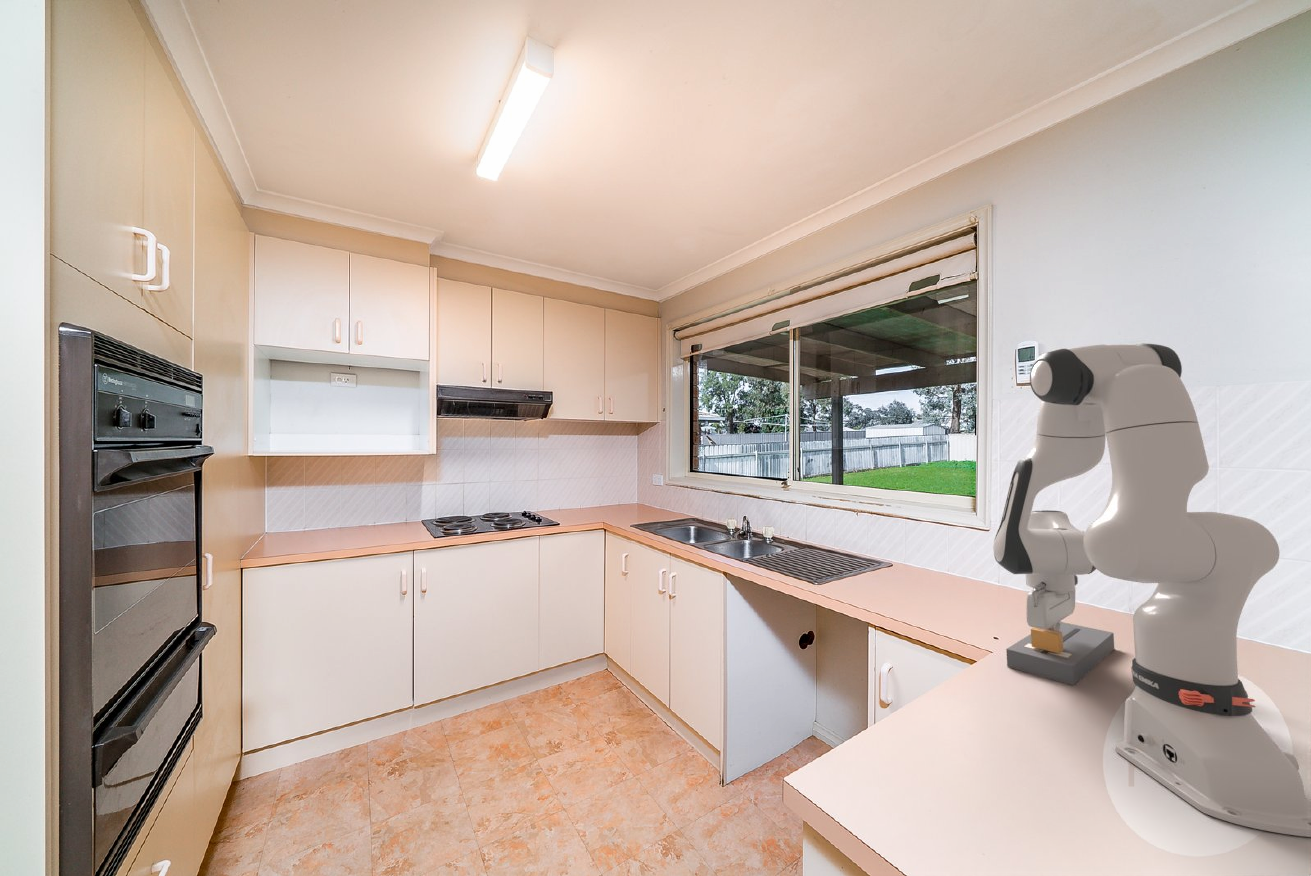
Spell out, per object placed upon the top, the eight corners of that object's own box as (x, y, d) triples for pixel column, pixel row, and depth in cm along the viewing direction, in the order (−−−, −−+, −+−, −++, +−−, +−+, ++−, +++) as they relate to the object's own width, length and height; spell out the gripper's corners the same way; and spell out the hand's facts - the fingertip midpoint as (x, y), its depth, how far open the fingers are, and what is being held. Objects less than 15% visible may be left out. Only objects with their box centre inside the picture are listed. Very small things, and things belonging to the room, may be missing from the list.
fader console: (1074, 685, 102) (1072, 665, 102) (1007, 666, 112) (1006, 648, 112) (1114, 649, 120) (1113, 632, 120) (1054, 635, 130) (1053, 619, 130)
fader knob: (1058, 653, 107) (1057, 634, 108) (1031, 646, 111) (1030, 628, 112) (1063, 650, 109) (1062, 631, 109) (1036, 643, 113) (1035, 625, 113)
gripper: (1050, 590, 104) (1054, 655, 104) (1080, 575, 116) (1083, 634, 116) (1016, 584, 110) (1019, 646, 109) (1047, 570, 121) (1050, 626, 121)
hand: (1052, 639), depth 112 cm, fingers closed
